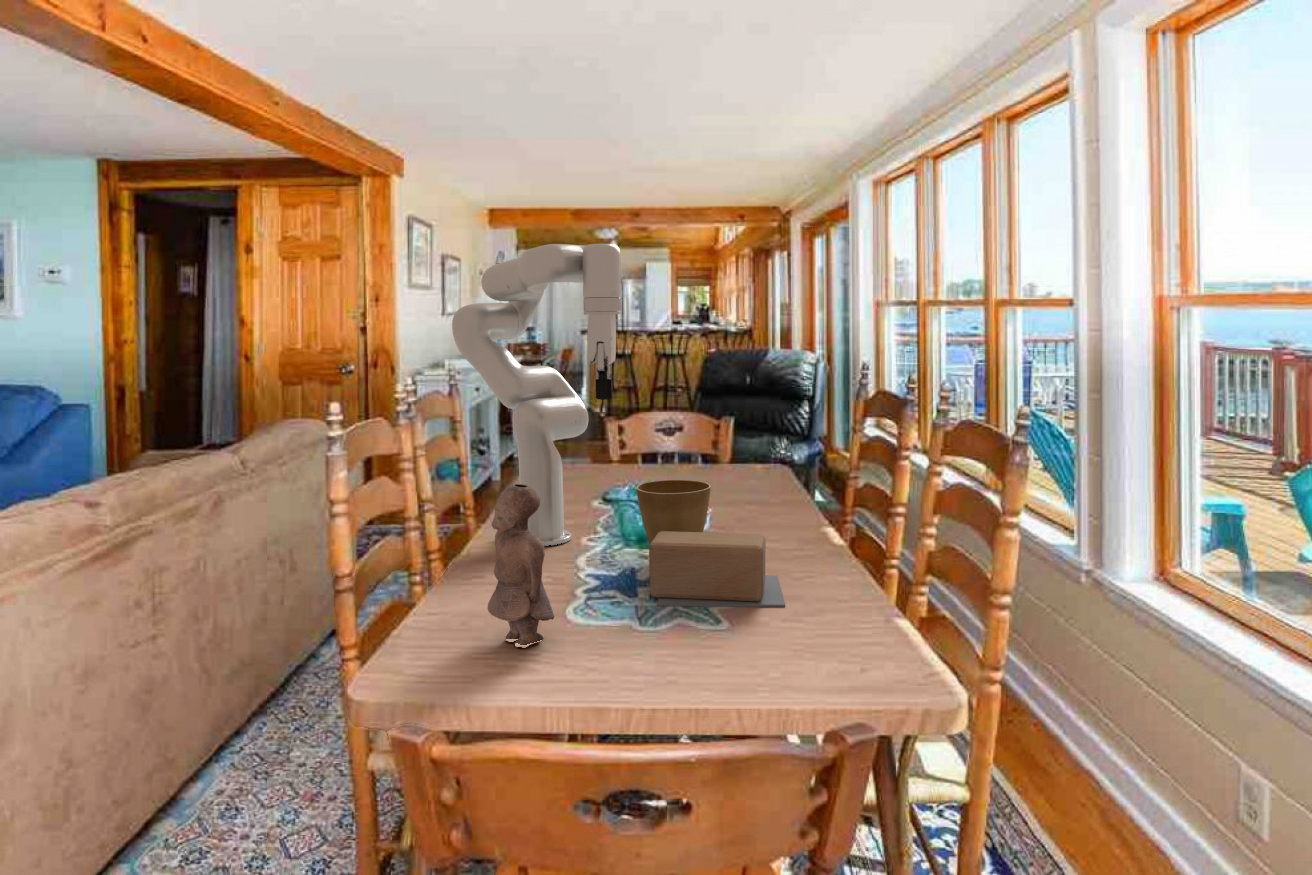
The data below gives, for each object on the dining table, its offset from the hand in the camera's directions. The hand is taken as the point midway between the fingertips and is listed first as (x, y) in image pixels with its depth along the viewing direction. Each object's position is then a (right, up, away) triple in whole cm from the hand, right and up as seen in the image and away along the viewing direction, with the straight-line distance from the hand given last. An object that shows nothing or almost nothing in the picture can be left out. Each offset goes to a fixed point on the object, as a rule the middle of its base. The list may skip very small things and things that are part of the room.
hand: (604, 398), depth 182 cm
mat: (+22, -36, -18) cm, 46 cm away
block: (+10, -31, -19) cm, 37 cm away
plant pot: (+14, -33, 0) cm, 36 cm away
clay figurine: (-10, -40, -42) cm, 59 cm away
